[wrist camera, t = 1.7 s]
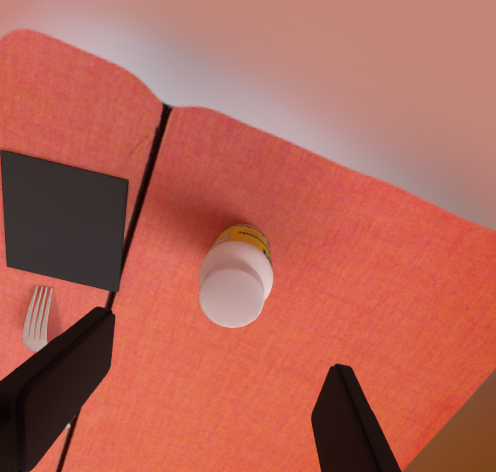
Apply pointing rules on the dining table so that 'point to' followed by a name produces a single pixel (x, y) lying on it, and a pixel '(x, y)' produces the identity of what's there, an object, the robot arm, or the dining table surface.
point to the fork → (29, 339)
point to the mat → (63, 220)
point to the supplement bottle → (236, 276)
